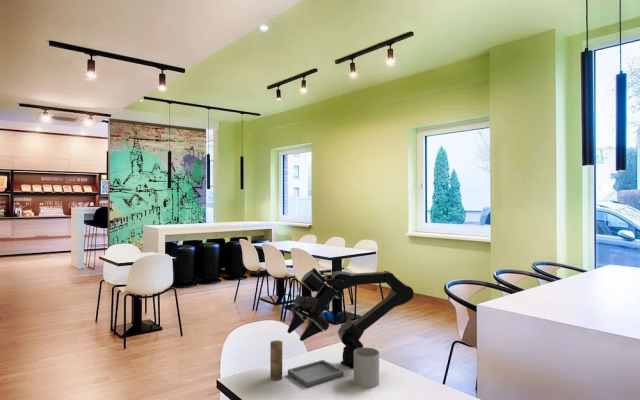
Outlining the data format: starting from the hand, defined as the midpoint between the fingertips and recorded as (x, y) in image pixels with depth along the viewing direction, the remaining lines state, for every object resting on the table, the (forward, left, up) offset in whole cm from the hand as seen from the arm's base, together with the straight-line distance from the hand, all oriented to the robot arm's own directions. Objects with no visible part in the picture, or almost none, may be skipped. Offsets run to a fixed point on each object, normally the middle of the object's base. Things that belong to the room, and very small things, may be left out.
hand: (294, 336), depth 139 cm
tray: (-5, +5, -13) cm, 15 cm away
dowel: (+7, -1, -13) cm, 15 cm away
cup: (-16, +19, -13) cm, 28 cm away
